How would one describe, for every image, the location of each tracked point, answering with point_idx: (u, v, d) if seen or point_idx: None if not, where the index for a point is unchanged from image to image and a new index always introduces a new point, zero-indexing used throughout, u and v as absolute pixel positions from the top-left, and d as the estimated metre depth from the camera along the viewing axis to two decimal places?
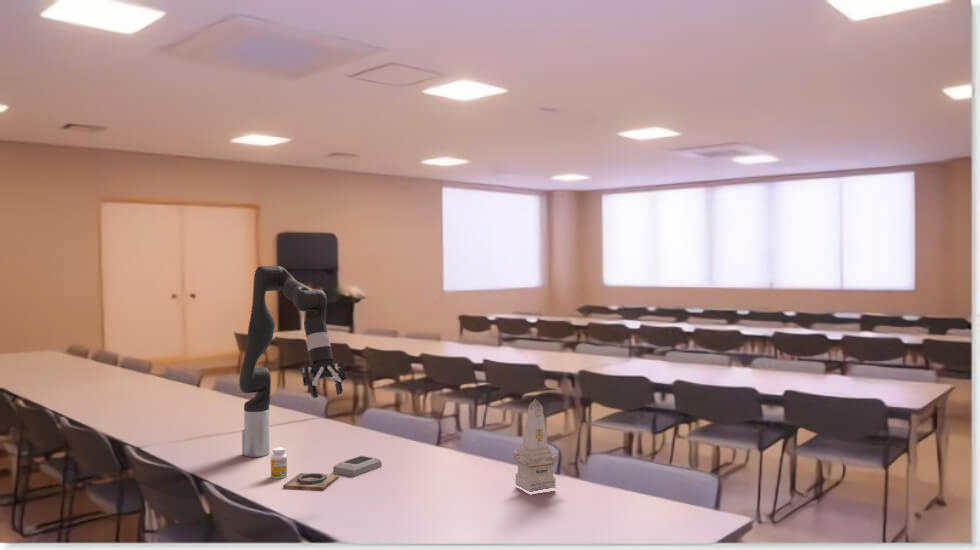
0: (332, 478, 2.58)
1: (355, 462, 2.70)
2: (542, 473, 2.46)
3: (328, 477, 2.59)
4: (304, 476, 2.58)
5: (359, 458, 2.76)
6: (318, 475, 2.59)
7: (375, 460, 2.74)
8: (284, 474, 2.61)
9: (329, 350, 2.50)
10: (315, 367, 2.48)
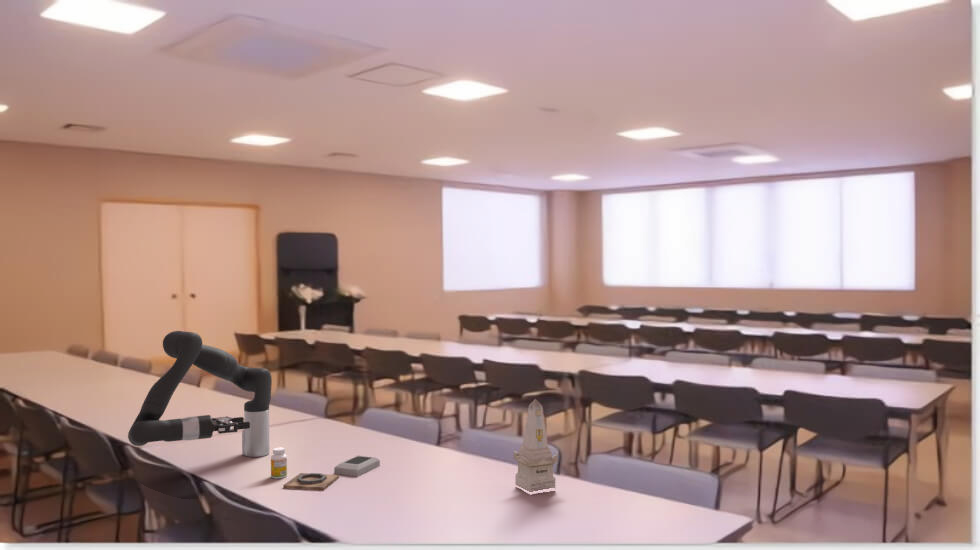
0: (332, 478, 2.58)
1: (355, 462, 2.70)
2: (542, 473, 2.46)
3: (328, 477, 2.59)
4: (304, 476, 2.58)
5: (357, 458, 2.75)
6: (318, 475, 2.59)
7: (374, 459, 2.75)
8: (284, 474, 2.61)
9: (202, 438, 2.48)
10: None
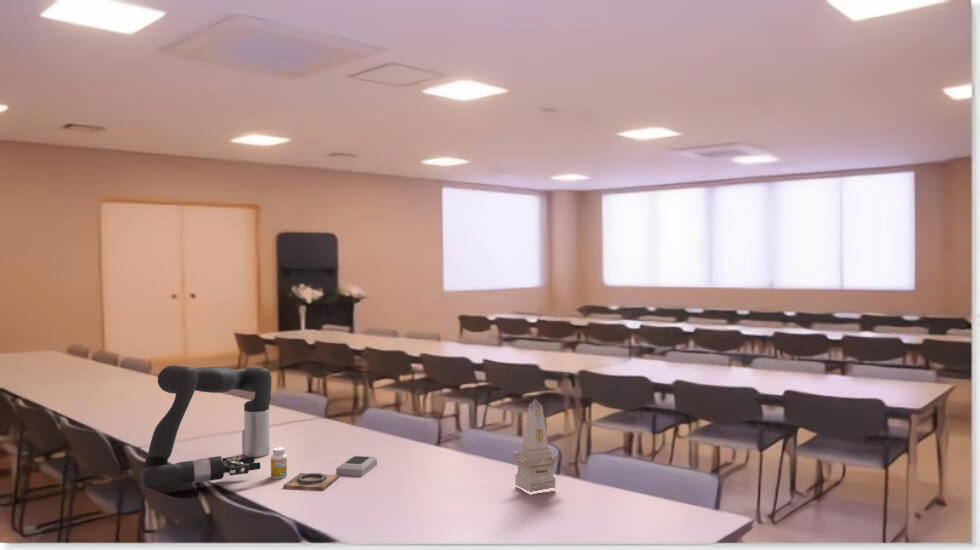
0: (332, 478, 2.58)
1: (356, 462, 2.70)
2: (542, 473, 2.46)
3: (328, 477, 2.59)
4: (304, 476, 2.58)
5: (355, 458, 2.75)
6: (318, 475, 2.59)
7: (372, 459, 2.76)
8: (284, 474, 2.61)
9: (214, 479, 2.50)
10: None
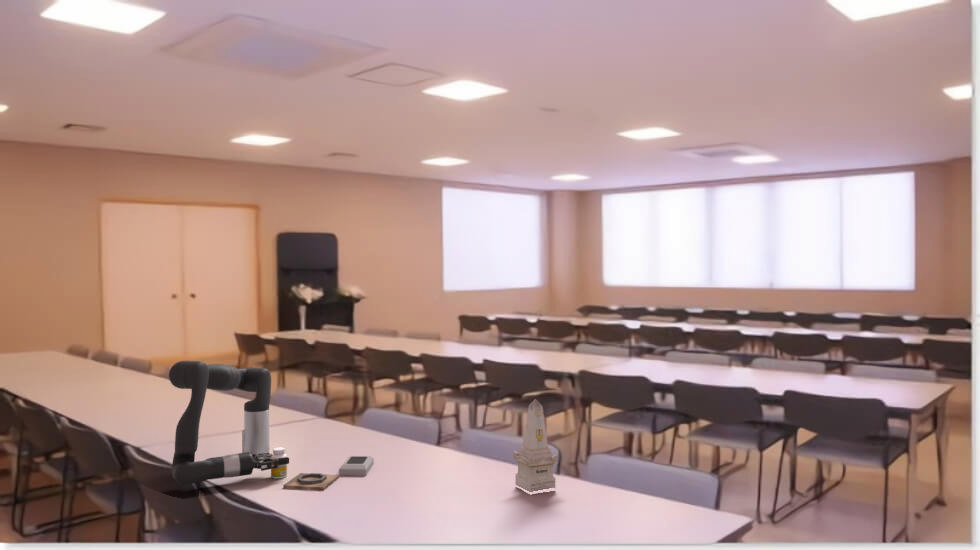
0: (332, 478, 2.58)
1: (356, 462, 2.70)
2: (542, 473, 2.46)
3: (328, 477, 2.59)
4: (304, 476, 2.58)
5: (353, 458, 2.75)
6: (318, 475, 2.59)
7: (370, 458, 2.77)
8: (284, 474, 2.61)
9: (243, 475, 2.55)
10: None
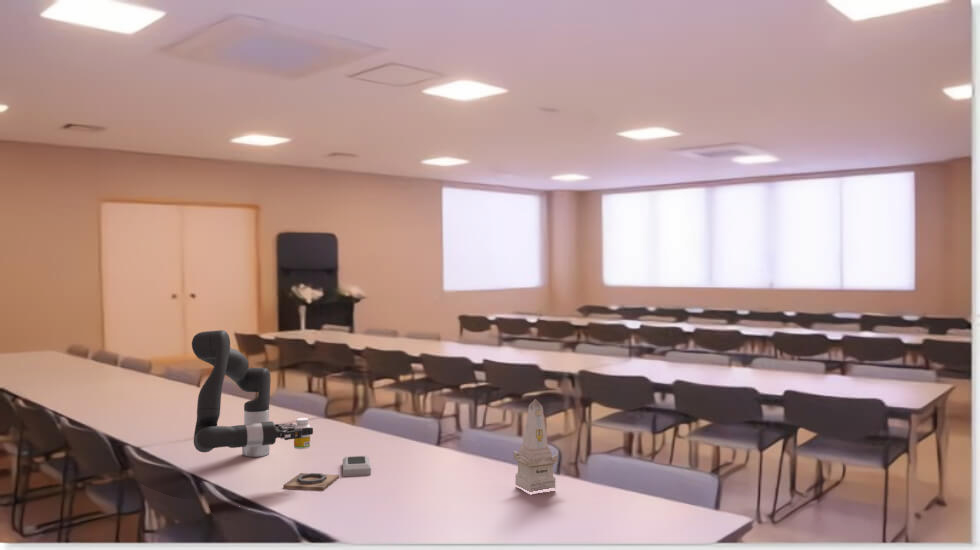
0: (332, 478, 2.58)
1: (357, 462, 2.70)
2: (542, 473, 2.46)
3: (328, 477, 2.59)
4: (304, 476, 2.58)
5: (350, 459, 2.74)
6: (318, 475, 2.59)
7: (367, 457, 2.77)
8: (307, 445, 2.55)
9: (266, 444, 2.48)
10: None
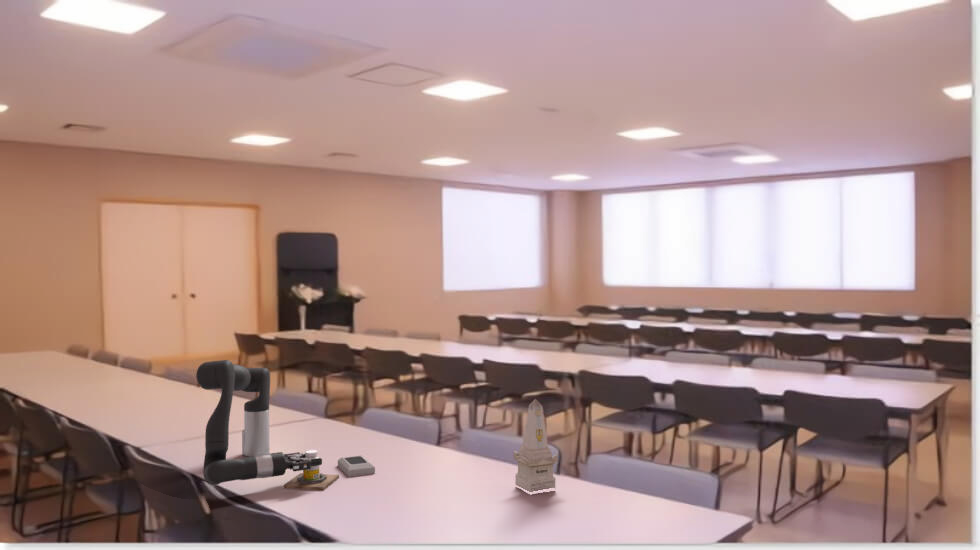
0: (332, 478, 2.58)
1: (358, 462, 2.70)
2: (542, 473, 2.46)
3: (328, 477, 2.59)
4: None
5: (348, 459, 2.74)
6: None
7: (363, 457, 2.78)
8: (317, 477, 2.54)
9: (276, 475, 2.48)
10: None
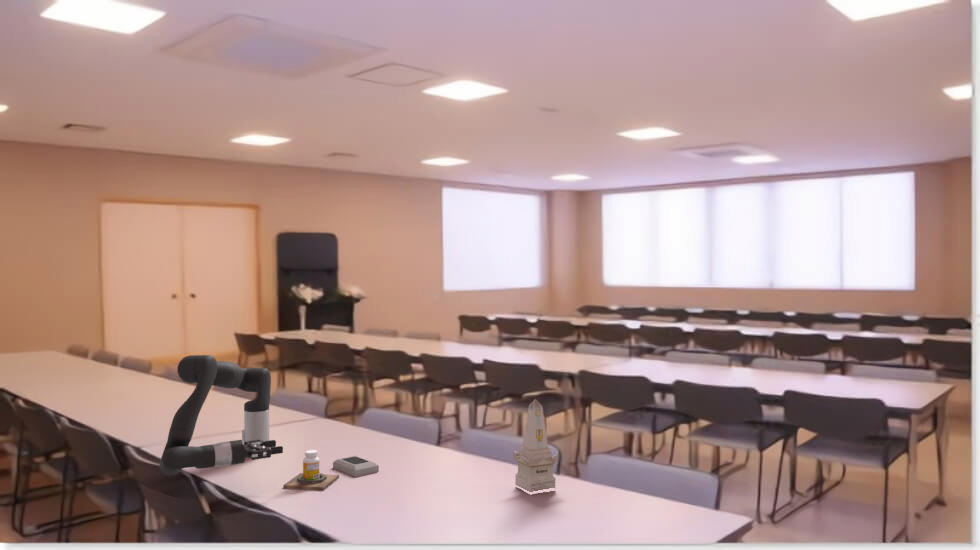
0: (332, 478, 2.58)
1: (358, 462, 2.71)
2: (542, 473, 2.46)
3: (328, 477, 2.59)
4: None
5: (346, 460, 2.73)
6: None
7: None
8: (317, 477, 2.54)
9: (235, 464, 2.41)
10: None
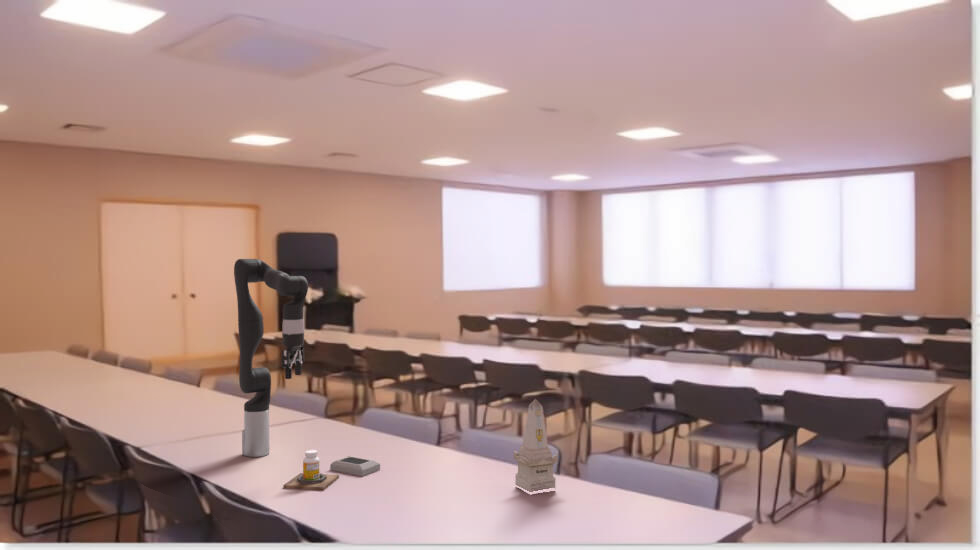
0: (332, 478, 2.58)
1: (359, 462, 2.71)
2: (542, 473, 2.46)
3: (328, 477, 2.59)
4: None
5: (344, 461, 2.71)
6: None
7: None
8: (317, 477, 2.54)
9: None
10: (292, 351, 2.68)
